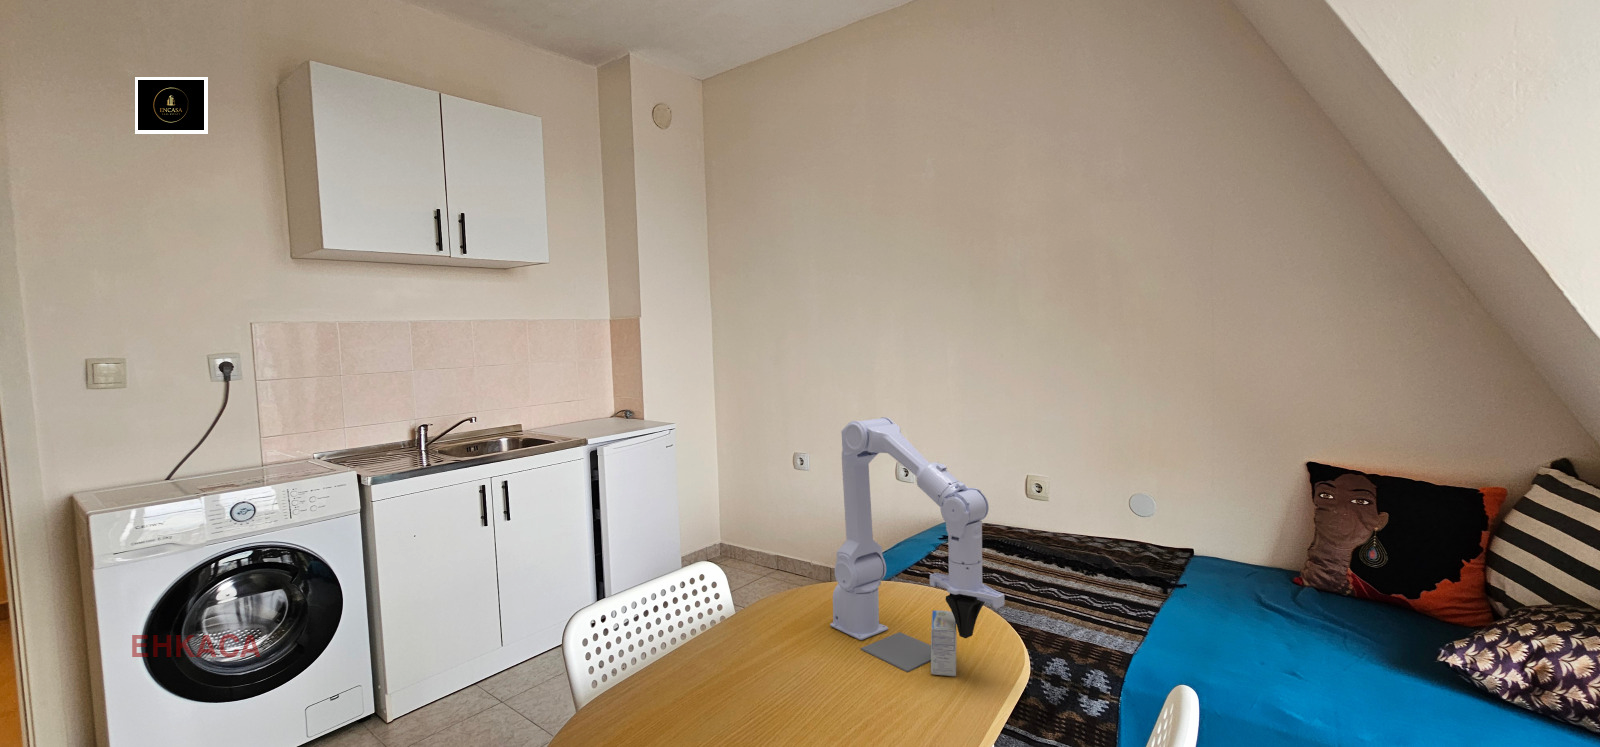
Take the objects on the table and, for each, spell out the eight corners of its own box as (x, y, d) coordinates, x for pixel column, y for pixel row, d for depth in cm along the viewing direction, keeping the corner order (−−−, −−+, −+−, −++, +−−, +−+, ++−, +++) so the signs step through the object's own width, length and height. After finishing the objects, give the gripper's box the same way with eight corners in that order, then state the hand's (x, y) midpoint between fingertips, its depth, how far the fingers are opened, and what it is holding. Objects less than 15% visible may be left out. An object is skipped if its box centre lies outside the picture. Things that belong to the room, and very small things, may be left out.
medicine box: (956, 677, 119) (957, 630, 118) (930, 675, 120) (931, 627, 119) (955, 656, 127) (956, 611, 126) (930, 653, 127) (931, 609, 127)
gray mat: (860, 649, 131) (860, 648, 131) (899, 633, 137) (899, 631, 137) (907, 672, 121) (907, 670, 121) (946, 653, 128) (946, 652, 128)
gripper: (918, 554, 121) (919, 629, 122) (986, 575, 110) (987, 657, 111) (943, 546, 126) (944, 618, 126) (1011, 565, 114) (1012, 644, 115)
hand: (965, 635), depth 119 cm, fingers closed
